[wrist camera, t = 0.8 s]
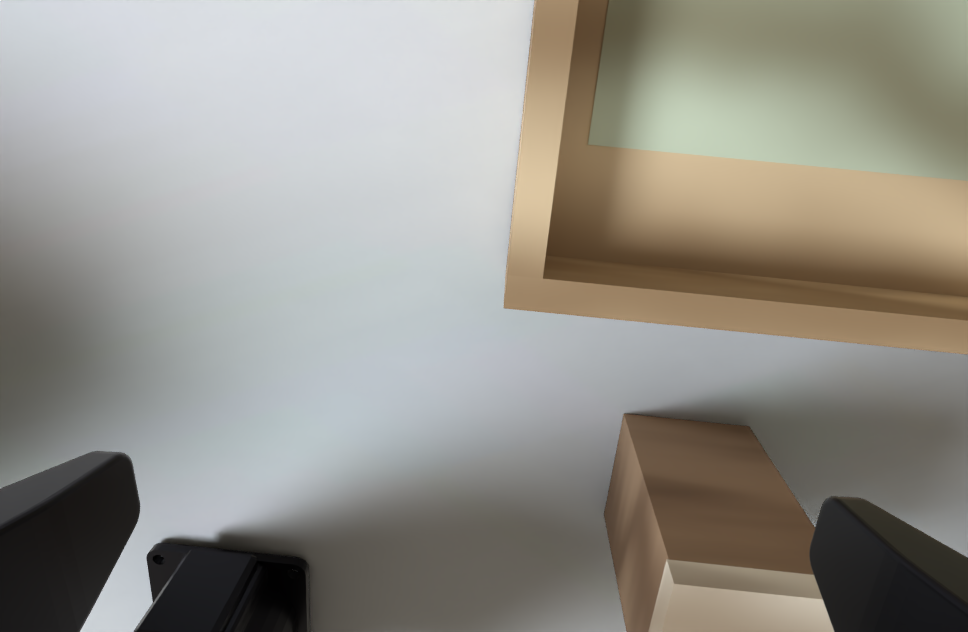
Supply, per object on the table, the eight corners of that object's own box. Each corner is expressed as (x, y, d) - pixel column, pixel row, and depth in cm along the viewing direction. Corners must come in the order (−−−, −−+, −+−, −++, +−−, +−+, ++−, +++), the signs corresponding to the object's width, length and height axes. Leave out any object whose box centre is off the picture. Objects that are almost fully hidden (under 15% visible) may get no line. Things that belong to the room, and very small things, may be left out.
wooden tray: (1113, 335, 20) (1208, 378, 18) (505, 275, 21) (503, 308, 18) (1380, -189, 15) (1574, -246, 12) (561, -260, 15) (571, -332, 13)
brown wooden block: (722, 528, 24) (815, 737, 17) (600, 516, 24) (638, 718, 17) (752, 424, 22) (871, 604, 15) (621, 410, 22) (674, 583, 15)
